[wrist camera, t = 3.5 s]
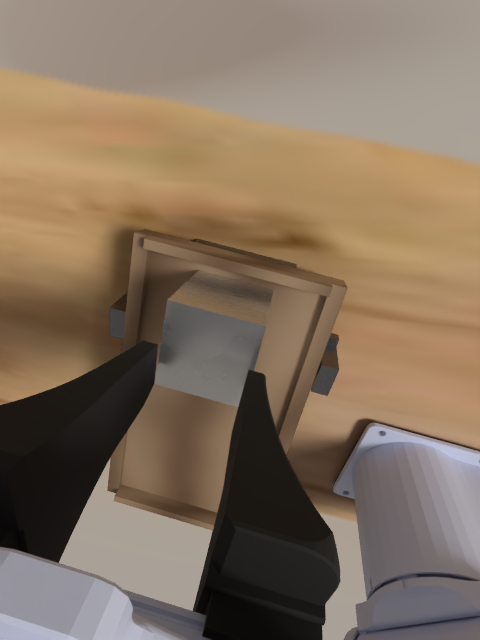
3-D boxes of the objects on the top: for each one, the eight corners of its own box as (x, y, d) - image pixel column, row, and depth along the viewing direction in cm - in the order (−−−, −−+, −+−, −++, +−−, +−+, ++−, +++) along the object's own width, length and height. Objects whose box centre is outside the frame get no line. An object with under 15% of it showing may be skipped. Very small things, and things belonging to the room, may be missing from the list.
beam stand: (360, 280, 20) (368, 304, 17) (284, 463, 28) (281, 497, 26) (135, 222, 21) (110, 236, 18) (126, 417, 29) (108, 446, 26)
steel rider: (273, 289, 18) (266, 326, 13) (255, 355, 20) (243, 408, 15) (199, 270, 18) (167, 299, 14) (186, 336, 20) (154, 384, 15)
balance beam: (343, 280, 18) (349, 291, 17) (258, 517, 26) (256, 543, 24) (144, 229, 19) (128, 234, 17) (116, 475, 26) (103, 497, 24)
